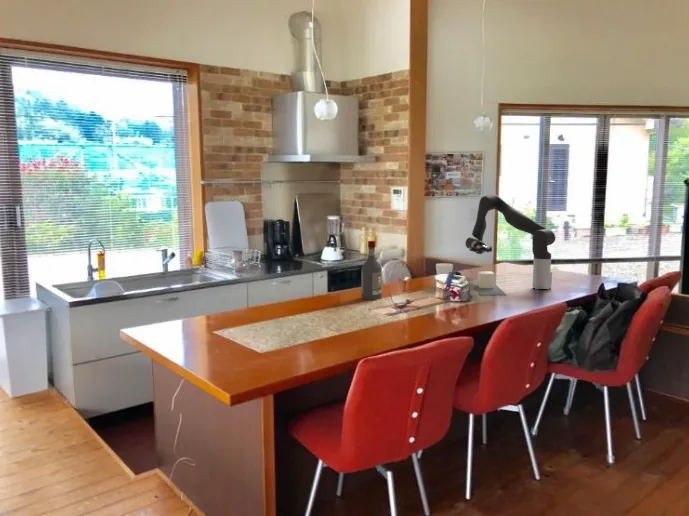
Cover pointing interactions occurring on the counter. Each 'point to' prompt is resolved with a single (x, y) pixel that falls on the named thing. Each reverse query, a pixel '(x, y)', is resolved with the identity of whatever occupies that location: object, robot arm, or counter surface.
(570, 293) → the counter surface
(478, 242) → the robot arm
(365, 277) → the liquor
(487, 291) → the rubber mat
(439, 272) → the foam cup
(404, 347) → the counter surface
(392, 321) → the counter surface
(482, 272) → the off-white cube
